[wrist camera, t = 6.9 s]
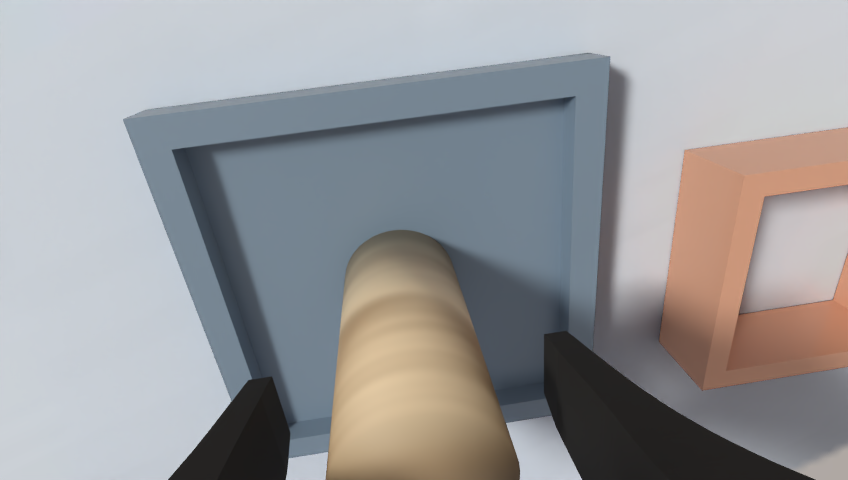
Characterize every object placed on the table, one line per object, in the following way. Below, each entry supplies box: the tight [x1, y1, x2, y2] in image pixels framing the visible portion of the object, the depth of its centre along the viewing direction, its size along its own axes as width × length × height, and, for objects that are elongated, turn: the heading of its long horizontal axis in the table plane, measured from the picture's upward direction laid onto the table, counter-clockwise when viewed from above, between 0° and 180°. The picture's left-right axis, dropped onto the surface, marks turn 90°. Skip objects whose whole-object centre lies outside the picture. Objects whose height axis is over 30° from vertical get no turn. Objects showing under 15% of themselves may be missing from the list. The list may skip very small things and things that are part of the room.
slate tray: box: [123, 53, 610, 458], centre depth 17 cm, size 14×14×2 cm
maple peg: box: [326, 230, 520, 480], centre depth 13 cm, size 4×4×8 cm
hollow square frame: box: [659, 127, 848, 391], centre depth 18 cm, size 9×9×3 cm
